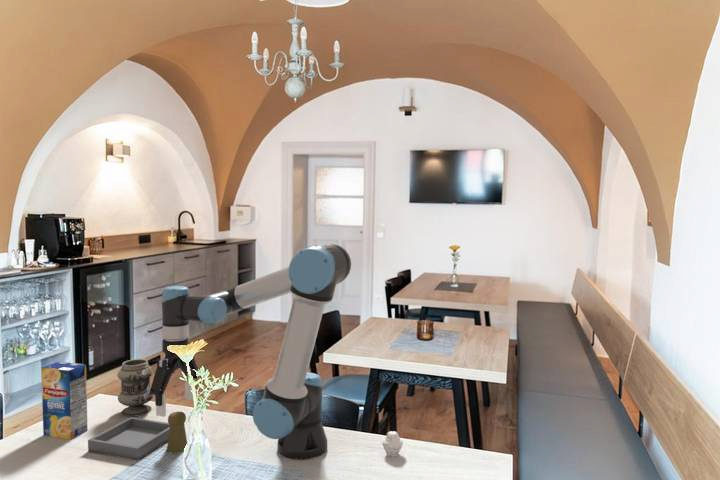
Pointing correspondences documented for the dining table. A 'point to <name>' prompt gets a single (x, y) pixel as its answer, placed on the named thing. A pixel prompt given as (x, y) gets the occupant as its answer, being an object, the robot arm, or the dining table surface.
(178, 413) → the olive pawn figure
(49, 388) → the beverage box
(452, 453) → the dining table surface
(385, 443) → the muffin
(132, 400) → the stone urn vase
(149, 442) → the box
